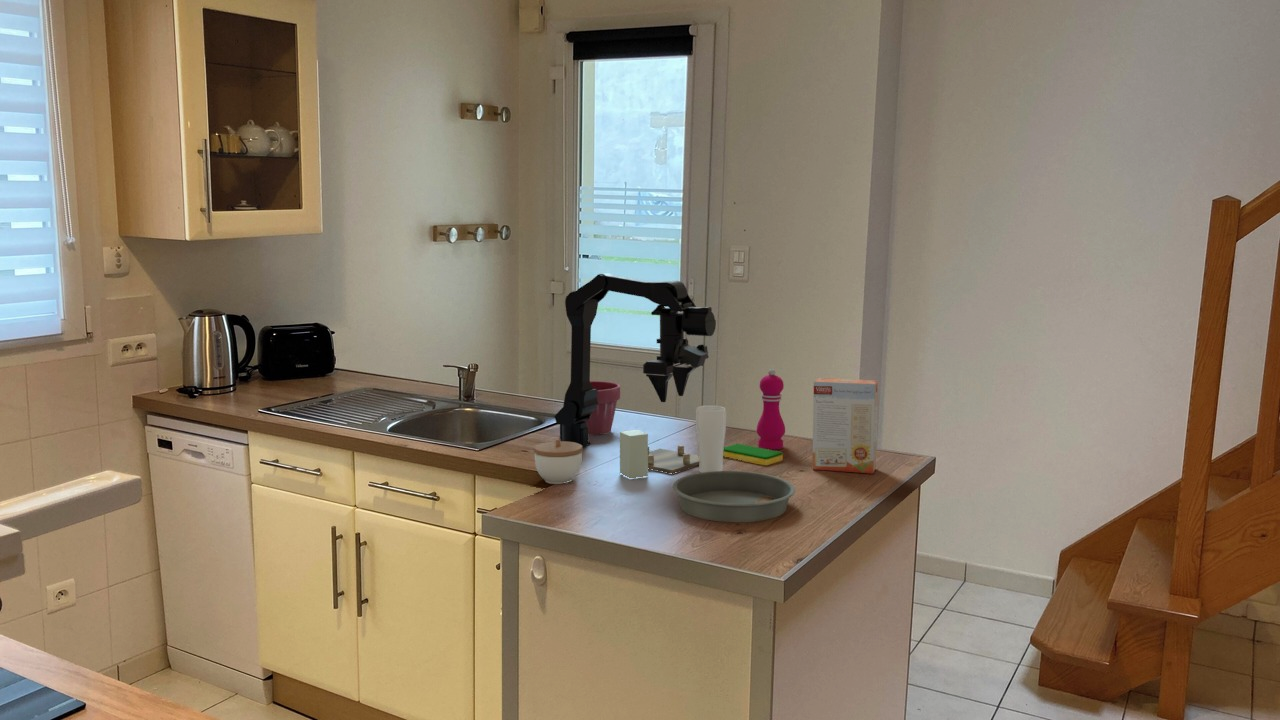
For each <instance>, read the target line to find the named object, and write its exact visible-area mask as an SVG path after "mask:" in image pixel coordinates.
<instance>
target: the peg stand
mask: <svg viewBox="0 0 1280 720" xmlns="http://www.w3.org/2000/svg"><path fill="white" fill-rule="evenodd" d="M697 465H699V455H697V454H692V453H686V452H685V445H682V444H679V445H677V450H676V451H675V450H671V449H664V448H657V449H653V450H650V446H648V468H649V469H653V470H658V471H663V472H667V473H666V474H668V473H672V474H671V475H674V474H673V473H675V472H678V473H680V472H679V471H681V472H684V471H687V470H689V469H688V468H690V469H692V467H693V468H696V467H698V466H697ZM695 466H696V467H695ZM686 469H687V470H686ZM683 470H684V471H683ZM675 474H676V473H675Z"/></svg>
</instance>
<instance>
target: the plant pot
mask: <svg viewBox="0 0 1280 720" xmlns="http://www.w3.org/2000/svg"><path fill="white" fill-rule="evenodd" d="M590 384H591V386H592V388H593V389H598V395H597V401H598V405H596V408H595V410H594V411H593V412H592V413H591V416H590V419H589V420H585V422H587V428H588V434H589V435H590V436H598V434H601V435H606V434H609V433H610V432H611V431H612V427H613V423H614V418H615V414H616V408H617V402H618V401H619V400H620V399H621V386H620V384H619V383H616V382H612V381H602V380H590ZM568 387H569V385H568V386H567V388H568ZM605 433H606V434H605ZM589 435H588V436H589Z"/></svg>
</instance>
